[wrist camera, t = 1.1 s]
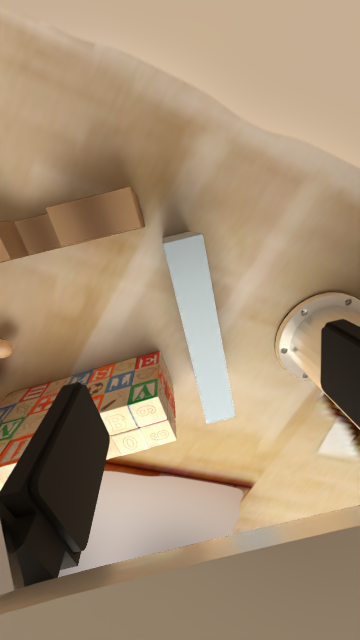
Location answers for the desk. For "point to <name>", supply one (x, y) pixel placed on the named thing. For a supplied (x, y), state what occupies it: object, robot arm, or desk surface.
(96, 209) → the brown wooden block
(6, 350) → the kitten
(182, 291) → the blue board
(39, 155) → the desk surface
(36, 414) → the stack of blocks
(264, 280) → the desk surface
